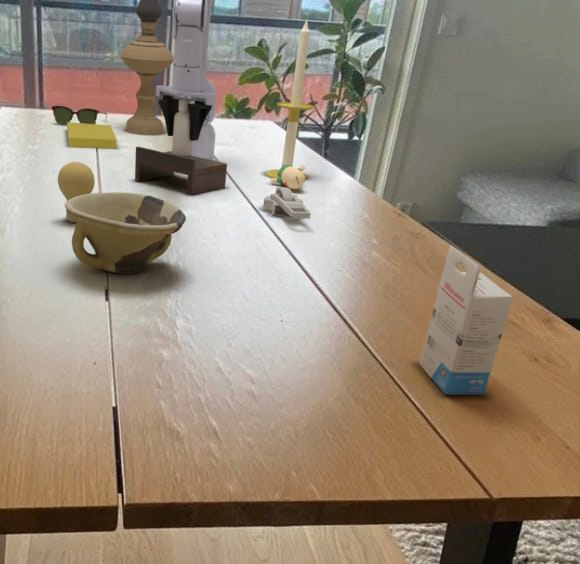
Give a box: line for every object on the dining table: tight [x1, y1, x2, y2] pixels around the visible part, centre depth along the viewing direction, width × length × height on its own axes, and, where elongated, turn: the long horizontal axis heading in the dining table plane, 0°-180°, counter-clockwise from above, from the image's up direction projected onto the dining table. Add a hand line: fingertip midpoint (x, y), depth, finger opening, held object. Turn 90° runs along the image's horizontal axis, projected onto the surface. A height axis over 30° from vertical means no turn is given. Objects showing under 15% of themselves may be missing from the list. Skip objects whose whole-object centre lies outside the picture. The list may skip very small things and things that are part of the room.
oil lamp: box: [119, 0, 174, 136], centre depth 213 cm, size 15×15×40 cm
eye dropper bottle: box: [171, 96, 192, 157], centre depth 162 cm, size 4×6×12 cm
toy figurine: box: [270, 164, 306, 191], centre depth 172 cm, size 8×4×12 cm
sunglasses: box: [51, 105, 108, 126], centre depth 229 cm, size 14×15×5 cm
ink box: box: [419, 245, 514, 396], centre depth 87 cm, size 9×5×15 cm, turn 5°
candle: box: [264, 19, 315, 180], centre depth 175 cm, size 10×10×32 cm
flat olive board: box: [66, 121, 117, 150], centre depth 207 cm, size 12×2×24 cm
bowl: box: [64, 191, 187, 275], centre depth 115 cm, size 18×18×10 cm
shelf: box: [134, 146, 228, 196], centre depth 167 cm, size 12×16×7 cm
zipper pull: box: [262, 186, 312, 219], centre depth 149 cm, size 8×18×4 cm, turn 7°
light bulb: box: [57, 161, 96, 223], centre depth 136 cm, size 6×6×10 cm
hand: (182, 137), depth 164 cm, fingers closed on eye dropper bottle, 5 cm apart
